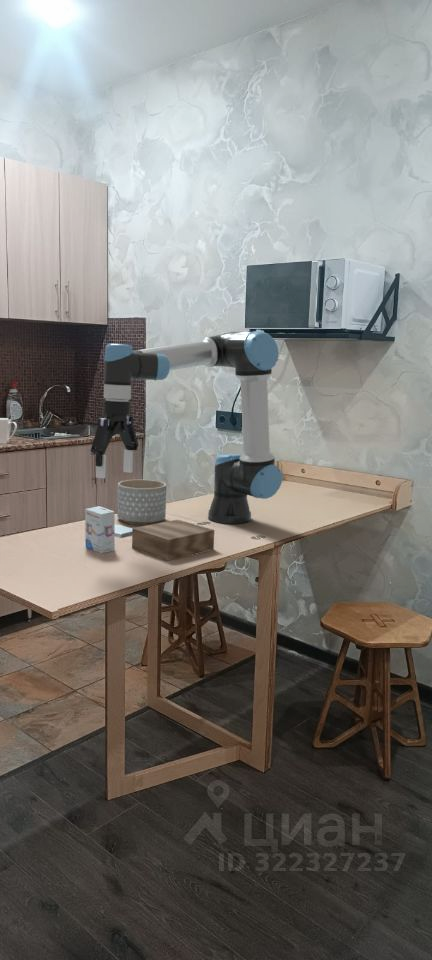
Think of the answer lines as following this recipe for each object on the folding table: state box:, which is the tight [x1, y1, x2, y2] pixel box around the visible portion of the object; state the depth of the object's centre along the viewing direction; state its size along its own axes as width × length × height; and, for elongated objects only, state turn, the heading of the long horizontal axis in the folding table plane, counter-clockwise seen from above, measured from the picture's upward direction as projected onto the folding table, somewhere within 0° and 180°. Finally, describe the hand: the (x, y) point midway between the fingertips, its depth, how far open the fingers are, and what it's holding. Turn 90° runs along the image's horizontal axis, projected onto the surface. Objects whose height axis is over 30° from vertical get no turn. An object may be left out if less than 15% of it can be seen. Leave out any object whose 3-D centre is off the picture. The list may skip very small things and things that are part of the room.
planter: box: [116, 479, 167, 526], centre depth 239 cm, size 16×16×13 cm
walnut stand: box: [131, 519, 215, 562], centre depth 206 cm, size 18×16×6 cm
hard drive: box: [115, 523, 133, 538], centre depth 224 cm, size 2×8×12 cm
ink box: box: [84, 505, 116, 554], centre depth 203 cm, size 9×5×12 cm, turn 44°
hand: (114, 475), depth 199 cm, fingers open, 13 cm apart
